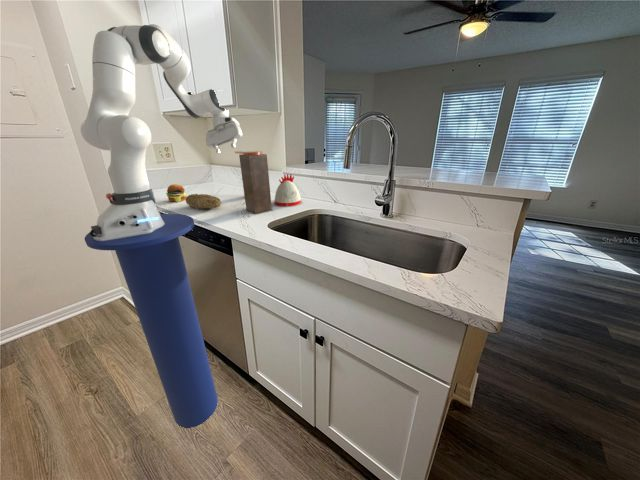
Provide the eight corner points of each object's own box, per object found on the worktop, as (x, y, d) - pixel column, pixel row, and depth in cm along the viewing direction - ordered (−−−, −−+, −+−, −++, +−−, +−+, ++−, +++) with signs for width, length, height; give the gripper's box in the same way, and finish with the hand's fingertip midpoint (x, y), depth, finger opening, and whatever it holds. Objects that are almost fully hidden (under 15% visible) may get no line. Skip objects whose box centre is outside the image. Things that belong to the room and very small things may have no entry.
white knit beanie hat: (305, 203, 137) (303, 174, 131) (280, 207, 131) (278, 177, 125) (294, 198, 148) (293, 171, 142) (271, 201, 142) (269, 173, 136)
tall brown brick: (255, 213, 121) (248, 155, 111) (246, 210, 127) (239, 154, 117) (271, 210, 127) (266, 154, 117) (262, 206, 133) (256, 153, 123)
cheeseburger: (167, 203, 142) (163, 184, 140) (169, 203, 151) (164, 186, 150) (188, 200, 146) (183, 182, 144) (188, 201, 156) (184, 184, 154)
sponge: (184, 209, 135) (196, 208, 120) (183, 194, 134) (194, 191, 119) (210, 209, 144) (224, 208, 129) (209, 194, 143) (223, 192, 128)
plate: (248, 155, 112) (248, 152, 111) (229, 153, 125) (229, 150, 124) (265, 154, 117) (265, 151, 116) (245, 152, 130) (245, 150, 129)
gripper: (201, 129, 136) (205, 153, 134) (234, 115, 131) (238, 141, 129) (210, 134, 142) (213, 158, 141) (241, 122, 137) (245, 146, 135)
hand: (225, 150), depth 135 cm, fingers open, 8 cm apart
